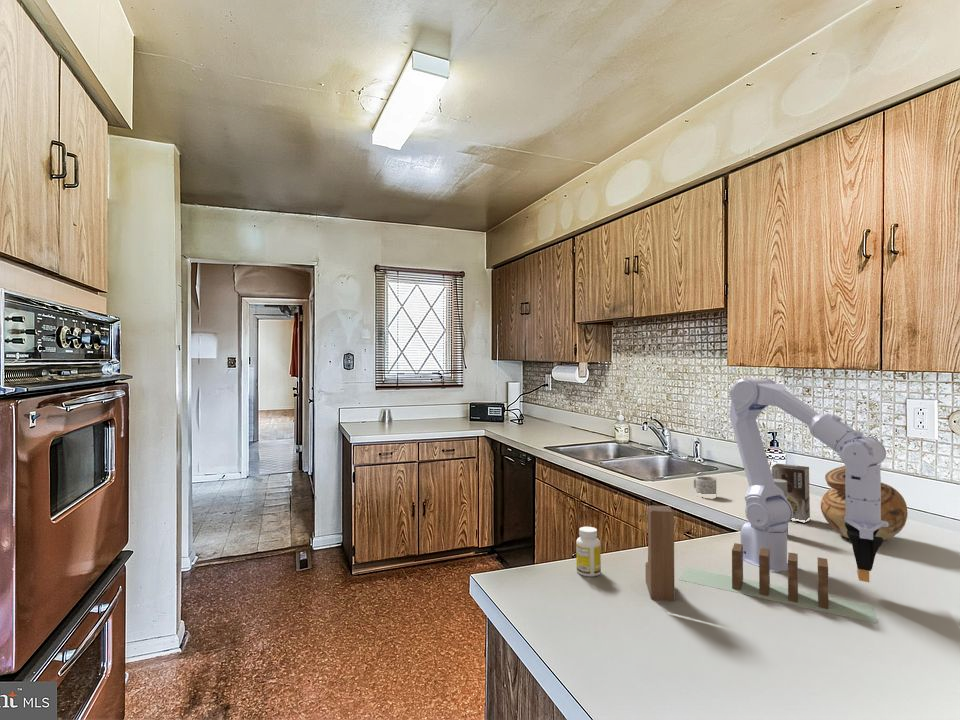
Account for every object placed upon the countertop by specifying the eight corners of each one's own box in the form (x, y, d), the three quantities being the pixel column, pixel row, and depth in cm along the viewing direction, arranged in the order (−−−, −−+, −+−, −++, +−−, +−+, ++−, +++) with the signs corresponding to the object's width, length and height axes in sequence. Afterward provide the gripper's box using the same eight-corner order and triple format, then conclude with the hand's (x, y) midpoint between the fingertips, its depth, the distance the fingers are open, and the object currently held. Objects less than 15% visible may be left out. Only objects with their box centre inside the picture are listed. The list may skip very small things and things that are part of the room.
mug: (720, 498, 178) (720, 480, 178) (704, 499, 176) (704, 481, 177) (701, 491, 188) (701, 474, 188) (686, 492, 186) (686, 475, 186)
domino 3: (788, 600, 100) (787, 560, 100) (788, 591, 104) (788, 552, 104) (797, 602, 99) (797, 561, 99) (797, 593, 103) (797, 553, 103)
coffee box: (810, 519, 154) (810, 466, 154) (806, 524, 149) (805, 469, 149) (777, 513, 160) (776, 462, 160) (771, 517, 155) (771, 465, 156)
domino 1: (732, 588, 105) (731, 550, 105) (734, 579, 109) (734, 543, 109) (740, 590, 104) (740, 551, 104) (743, 581, 108) (742, 544, 108)
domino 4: (818, 607, 97) (818, 565, 97) (817, 597, 101) (817, 557, 101) (828, 609, 96) (828, 567, 96) (827, 599, 100) (827, 558, 100)
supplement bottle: (597, 567, 117) (597, 525, 117) (603, 577, 112) (603, 532, 112) (574, 567, 117) (573, 525, 117) (579, 577, 111) (579, 533, 112)
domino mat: (679, 581, 109) (679, 579, 109) (686, 569, 116) (686, 567, 116) (877, 625, 91) (877, 623, 91) (872, 607, 98) (872, 605, 98)
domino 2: (759, 594, 102) (759, 554, 102) (761, 585, 106) (760, 547, 107) (768, 596, 101) (768, 556, 101) (769, 587, 106) (769, 549, 106)
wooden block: (645, 582, 109) (644, 499, 109) (667, 584, 108) (666, 500, 108) (651, 601, 100) (650, 510, 100) (674, 603, 99) (674, 512, 99)
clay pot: (804, 528, 145) (804, 459, 145) (864, 526, 147) (863, 458, 147) (860, 553, 126) (860, 473, 126) (928, 550, 128) (927, 472, 128)
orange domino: (859, 580, 100) (859, 540, 100) (857, 571, 104) (856, 533, 104) (869, 582, 99) (869, 541, 99) (866, 573, 103) (866, 534, 103)
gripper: (893, 509, 93) (893, 582, 93) (883, 492, 106) (883, 557, 105) (846, 503, 97) (846, 573, 97) (841, 488, 109) (842, 550, 109)
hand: (862, 564), depth 102 cm, fingers closed on orange domino, 5 cm apart
